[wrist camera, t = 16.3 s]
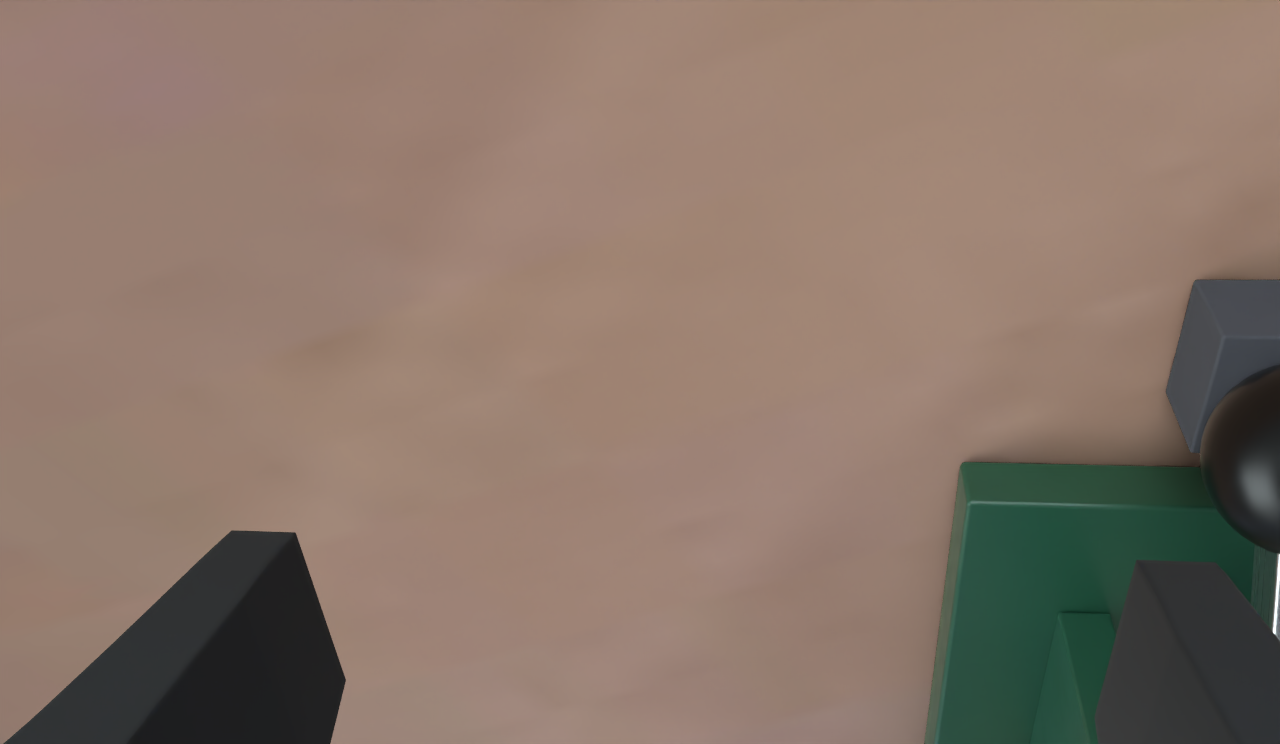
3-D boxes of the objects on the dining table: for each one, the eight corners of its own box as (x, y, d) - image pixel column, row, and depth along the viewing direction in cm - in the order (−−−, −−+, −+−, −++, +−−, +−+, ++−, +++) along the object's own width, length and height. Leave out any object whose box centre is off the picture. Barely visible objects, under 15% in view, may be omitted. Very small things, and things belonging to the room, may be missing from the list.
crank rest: (1295, 394, 20) (1329, 457, 19) (1164, 392, 21) (1189, 454, 19) (1333, 278, 19) (1375, 338, 18) (1193, 278, 19) (1223, 336, 18)
